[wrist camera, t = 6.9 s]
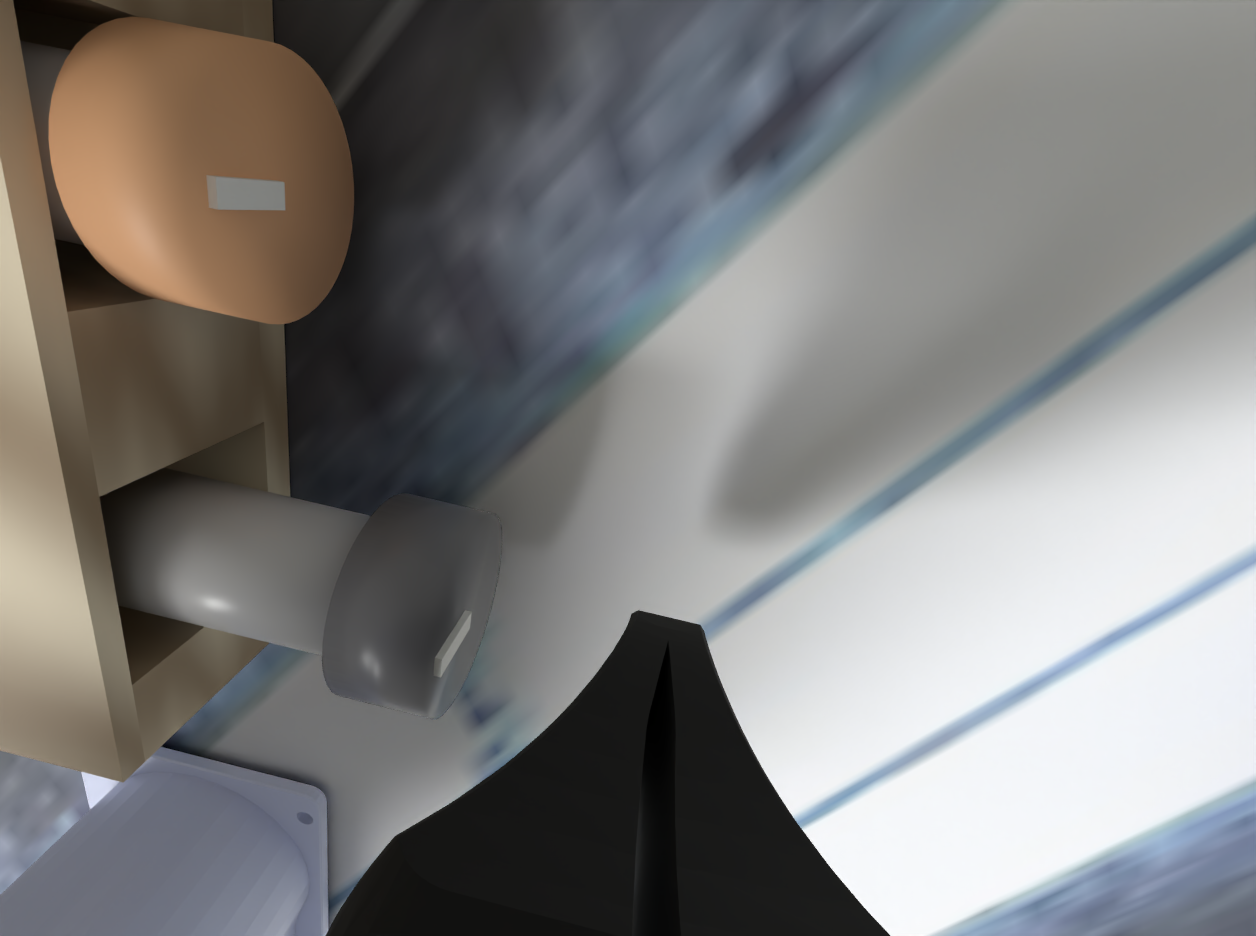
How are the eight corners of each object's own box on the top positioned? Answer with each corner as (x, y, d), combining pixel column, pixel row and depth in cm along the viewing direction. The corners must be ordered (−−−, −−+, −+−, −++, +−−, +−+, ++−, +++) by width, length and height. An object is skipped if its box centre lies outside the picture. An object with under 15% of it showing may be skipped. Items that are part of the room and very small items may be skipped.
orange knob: (362, 74, 11) (176, 2, 7) (359, 308, 12) (206, 347, 9) (-10, 2, 11) (-371, -104, 7) (35, 238, 13) (-246, 247, 9)
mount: (294, 618, 17) (123, 782, 12) (72, 564, 17) (-183, 702, 12) (269, -68, 11) (-89, -296, 6) (-70, -131, 11) (-667, -393, 6)
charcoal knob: (516, 483, 13) (438, 585, 10) (497, 632, 15) (424, 769, 11) (210, 413, 14) (23, 487, 10) (224, 566, 15) (67, 678, 12)
